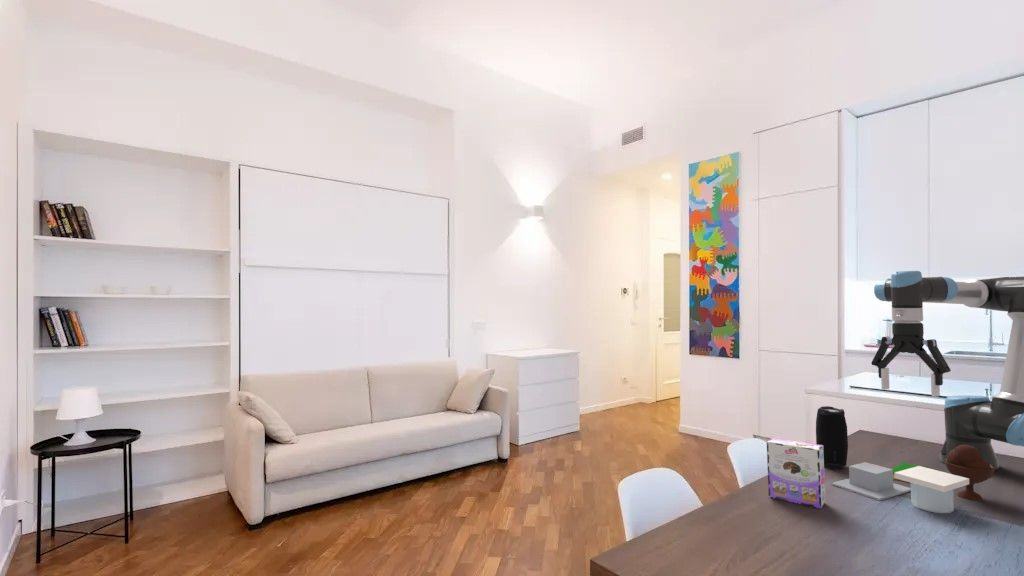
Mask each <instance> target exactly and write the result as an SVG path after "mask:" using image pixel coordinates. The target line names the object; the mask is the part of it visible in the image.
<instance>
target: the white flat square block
mask: <svg viewBox="0 0 1024 576" xmlns="http://www.w3.org/2000/svg"><path fill="white" fill-rule="evenodd" d="M921 466H922V465H918V466H917V467H913V468H909V469H906V470H902V471H898V472H895V473H894V478H896V479H895V480H897V479H900V480H899V481H901V480H904V481H903V482H905V481H907V482H906V483H910V482H911V483H914V484H918V485H921V486H925V487H928V488H932V489H935V490H939V491H942V492H946V491H950V490H953V491H954V490H956V489H959V488H961V487H964V486H965V487H966V485H969V478H965V477H961V476H957V475H953V474H951V473H950V472H946V471H945V472H944V471H941V470H936V469H933V468H929V467H927V468H925V467H926V466H923V467H921ZM911 483H910V484H911Z"/></svg>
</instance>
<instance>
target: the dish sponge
mask: <svg viewBox="0 0 1024 576" xmlns="http://www.w3.org/2000/svg"><path fill="white" fill-rule="evenodd" d="M917 466H919V465H918V464H913V463H907V462H902V463H899V464H897V465H896V466H893V467H892V468H891V469H893V480H897V481H901V482H902V481H903V482H906V483H908V482H907V481H904V480H900V479H896V478H894V473H895V472H898V471H902V470H906V469H909V468H913V467H917ZM920 466H921V467H925V468H928V467H926V466H923V465H920ZM909 483H910V484H911V482H909Z"/></svg>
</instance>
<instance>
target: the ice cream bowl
mask: <svg viewBox="0 0 1024 576" xmlns="http://www.w3.org/2000/svg"><path fill="white" fill-rule="evenodd" d="M947 458H948V459H944V462H945V463H944V465H945V467H946V469H947V470H948V473H949V474H953V475H957V476H961V477H965V478H969V485H965V489H964V490H961V491H958V492H957V493H956V495H957V496H958V497H960V498H963V499H965V500H970V501H982V500H983V497H982V496H981V494H979V493H977V492H976V491H975V490H974V485H975V484H979V483H983V482H985V481H988V480H989V479H991V478H992V476H994V473H995V471H996V470H995V468H994V467H993V466H992V465H991V464H989V463H988V462H987V461H986V460H984V459H983V458H981V452H980V451H979V450H978V449H976V448H975V447H973V446H970V445H960V446H958V447H956V448H955V449H953V450H951V451H950V452H949V454H948V456H947Z"/></svg>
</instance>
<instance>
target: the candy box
mask: <svg viewBox="0 0 1024 576" xmlns="http://www.w3.org/2000/svg"><path fill="white" fill-rule="evenodd" d="M766 451H767V452H766V457H767V458H766V459H767V464H766V465H767V486H768V493H767V494H768V495H767V496H770V497H773V498H772V499H775V498H777V499H776V500H780V499H781V500H780V501H784V500H786V502H788V501H789V502H790V503H793V502H794V504H797V503H798V504H797V505H802V504H803V506H806V505H807V507H811V506H812V508H815V507H816V508H817V509H822V508H823V507H824V505H825V504H826V482H825V481H826V480H825V465H824V450H823V445H816V443H809V442H808V443H807V442H802V441H795V440H789V439H783V438H782V439H781V438H775V437H772V438H770V439H769V440H768V441H766ZM770 497H769V498H770Z"/></svg>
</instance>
